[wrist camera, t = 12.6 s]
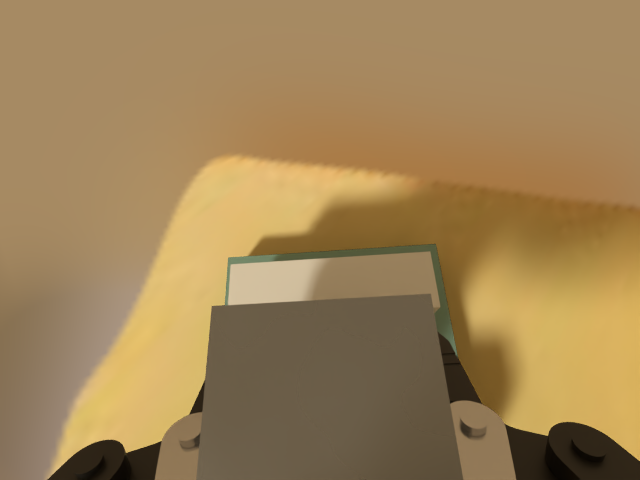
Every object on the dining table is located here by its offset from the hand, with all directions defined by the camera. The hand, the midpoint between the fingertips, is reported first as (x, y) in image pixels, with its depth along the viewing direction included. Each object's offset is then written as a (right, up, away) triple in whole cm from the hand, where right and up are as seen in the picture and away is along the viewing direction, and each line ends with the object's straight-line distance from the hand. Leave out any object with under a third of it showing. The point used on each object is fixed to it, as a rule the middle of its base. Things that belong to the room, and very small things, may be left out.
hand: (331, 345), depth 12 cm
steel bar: (+1, -4, +5) cm, 7 cm away
